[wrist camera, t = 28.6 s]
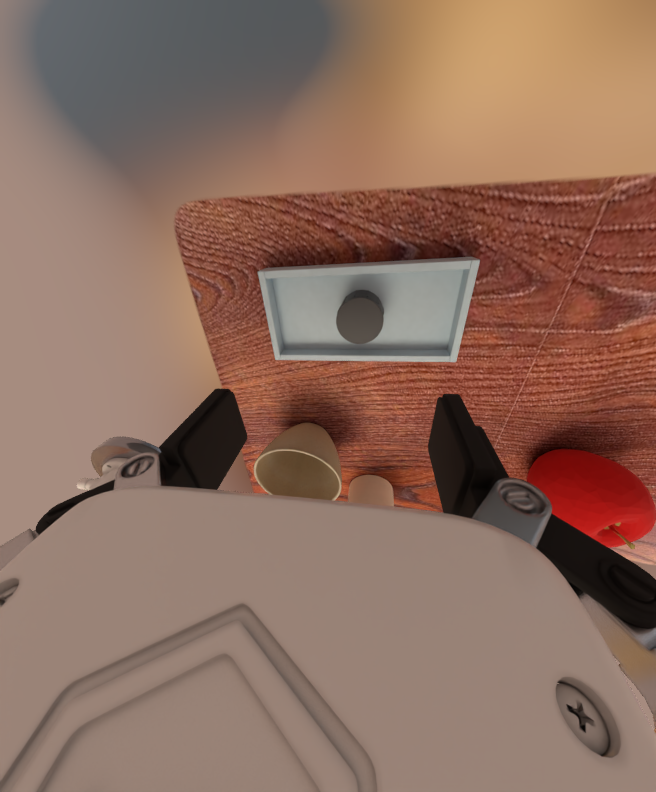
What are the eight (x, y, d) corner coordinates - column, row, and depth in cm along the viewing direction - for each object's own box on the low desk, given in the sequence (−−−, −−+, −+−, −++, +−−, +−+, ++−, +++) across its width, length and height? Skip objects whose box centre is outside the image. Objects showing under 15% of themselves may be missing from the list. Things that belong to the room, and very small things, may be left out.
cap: (390, 321, 23) (391, 331, 21) (352, 339, 25) (349, 351, 22) (371, 280, 22) (370, 287, 19) (332, 303, 23) (327, 312, 21)
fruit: (628, 460, 28) (731, 558, 20) (548, 497, 33) (604, 587, 25) (570, 420, 26) (655, 509, 18) (495, 465, 31) (536, 550, 23)
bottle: (350, 499, 40) (337, 626, 28) (348, 473, 37) (332, 603, 24) (391, 503, 39) (398, 637, 27) (394, 476, 36) (402, 616, 23)
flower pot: (264, 409, 33) (239, 450, 27) (340, 404, 30) (331, 447, 24) (286, 463, 38) (270, 507, 32) (353, 462, 35) (348, 509, 29)
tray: (281, 351, 27) (275, 360, 26) (265, 267, 23) (257, 271, 21) (451, 352, 24) (456, 362, 23) (472, 256, 20) (480, 259, 18)
